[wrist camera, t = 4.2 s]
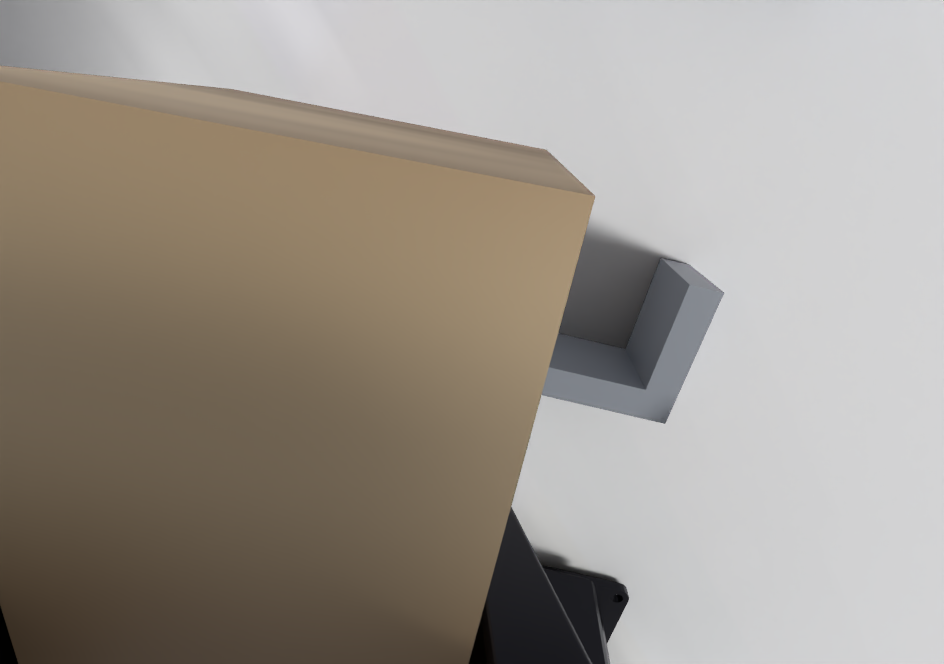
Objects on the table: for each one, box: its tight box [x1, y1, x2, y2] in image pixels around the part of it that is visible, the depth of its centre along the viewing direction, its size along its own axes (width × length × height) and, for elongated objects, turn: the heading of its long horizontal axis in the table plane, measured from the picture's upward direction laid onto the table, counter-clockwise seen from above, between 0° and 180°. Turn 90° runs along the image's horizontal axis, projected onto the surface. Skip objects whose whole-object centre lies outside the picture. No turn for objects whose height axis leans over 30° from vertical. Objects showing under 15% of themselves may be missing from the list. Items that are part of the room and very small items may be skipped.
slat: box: [0, 66, 595, 664], centre depth 6 cm, size 10×4×4 cm, turn 170°
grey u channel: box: [541, 258, 724, 424], centre depth 16 cm, size 4×8×3 cm, turn 77°
